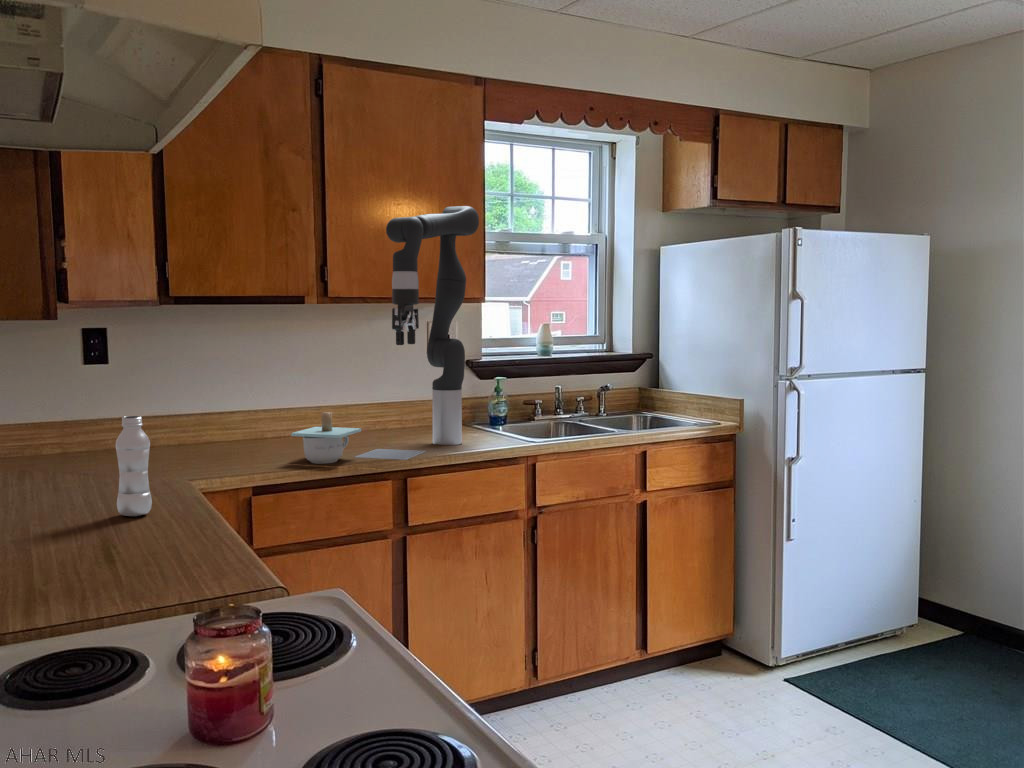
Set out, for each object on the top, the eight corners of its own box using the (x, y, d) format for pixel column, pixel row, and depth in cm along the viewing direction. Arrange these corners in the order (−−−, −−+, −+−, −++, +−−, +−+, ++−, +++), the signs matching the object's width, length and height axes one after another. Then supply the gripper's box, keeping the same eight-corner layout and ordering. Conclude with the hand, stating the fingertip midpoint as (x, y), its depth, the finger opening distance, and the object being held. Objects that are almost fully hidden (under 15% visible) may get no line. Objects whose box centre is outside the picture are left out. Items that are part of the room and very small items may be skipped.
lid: (315, 429, 241) (315, 409, 241) (361, 431, 238) (361, 410, 237) (291, 436, 228) (290, 414, 227) (339, 438, 224) (338, 416, 224)
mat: (376, 450, 255) (376, 448, 255) (426, 452, 251) (426, 451, 251) (353, 458, 239) (353, 457, 239) (406, 461, 235) (406, 459, 235)
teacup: (314, 467, 225) (313, 437, 224) (296, 462, 233) (295, 433, 233) (360, 462, 234) (360, 433, 233) (341, 457, 242) (341, 429, 241)
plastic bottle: (142, 510, 175) (139, 414, 173) (158, 515, 171) (155, 416, 169) (110, 516, 170) (107, 417, 168) (127, 521, 166) (124, 419, 164)
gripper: (408, 287, 234) (408, 345, 235) (426, 288, 248) (426, 344, 249) (383, 287, 236) (383, 345, 237) (402, 288, 250) (403, 343, 251)
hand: (405, 344), depth 243 cm, fingers open, 8 cm apart
